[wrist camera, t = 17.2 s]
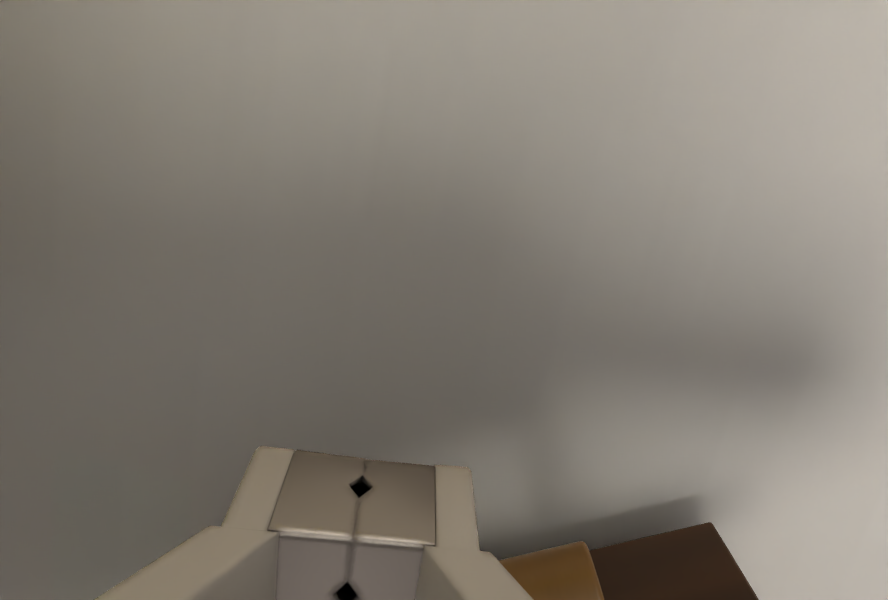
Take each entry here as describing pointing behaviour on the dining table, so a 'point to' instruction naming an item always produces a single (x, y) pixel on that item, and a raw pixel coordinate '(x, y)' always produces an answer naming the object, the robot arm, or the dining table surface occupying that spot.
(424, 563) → the robot arm
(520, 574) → the drawer
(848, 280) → the dining table surface
